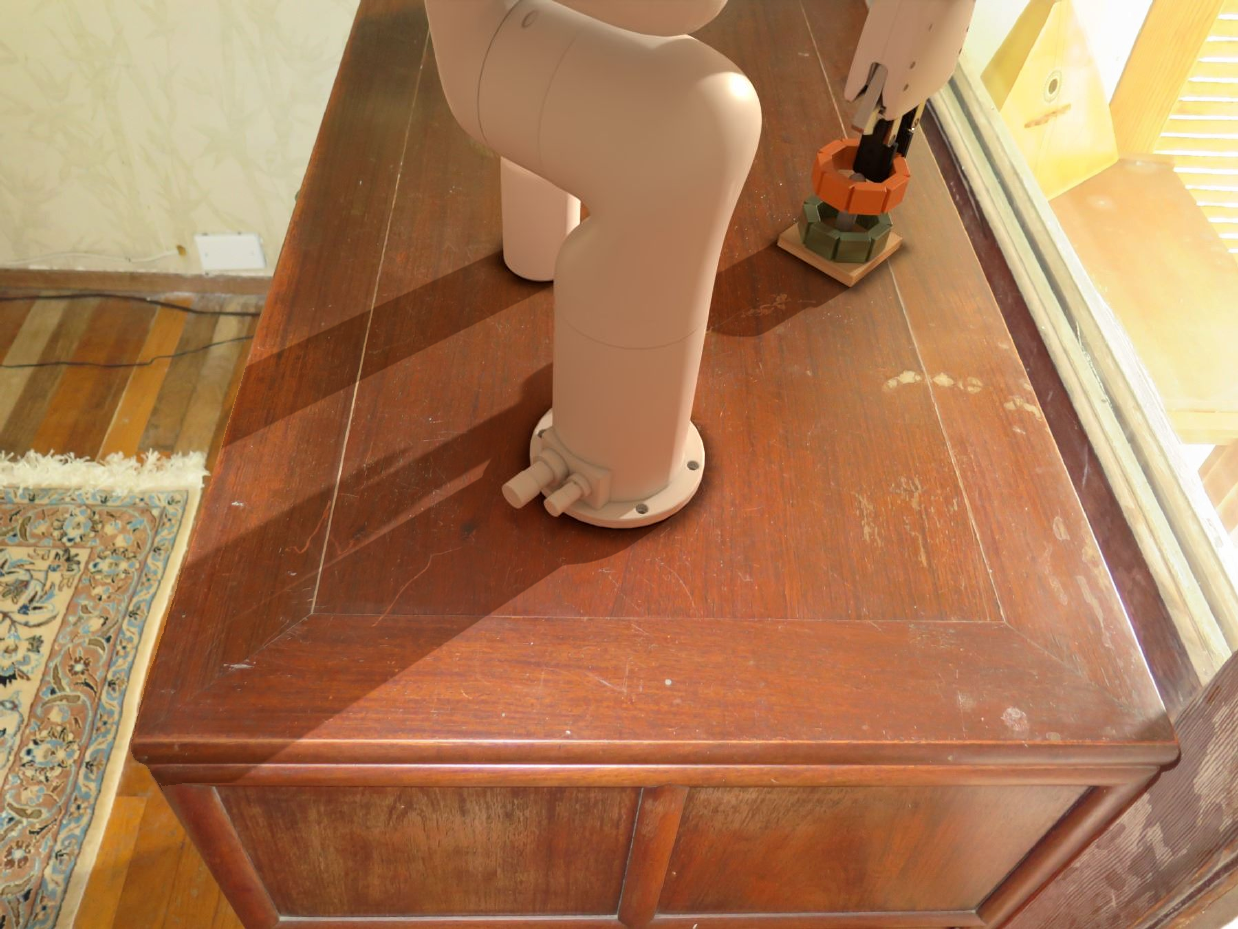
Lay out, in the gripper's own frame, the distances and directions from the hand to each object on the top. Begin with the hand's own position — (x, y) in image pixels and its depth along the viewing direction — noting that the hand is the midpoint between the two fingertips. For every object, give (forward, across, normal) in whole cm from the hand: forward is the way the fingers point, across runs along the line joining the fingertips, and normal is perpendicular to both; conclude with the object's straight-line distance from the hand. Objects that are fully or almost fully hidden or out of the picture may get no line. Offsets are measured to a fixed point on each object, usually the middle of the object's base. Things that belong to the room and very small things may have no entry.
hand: (876, 171), depth 86 cm
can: (+7, +24, -17) cm, 30 cm away
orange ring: (0, +3, 0) cm, 3 cm away
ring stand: (+6, +3, 0) cm, 7 cm away
